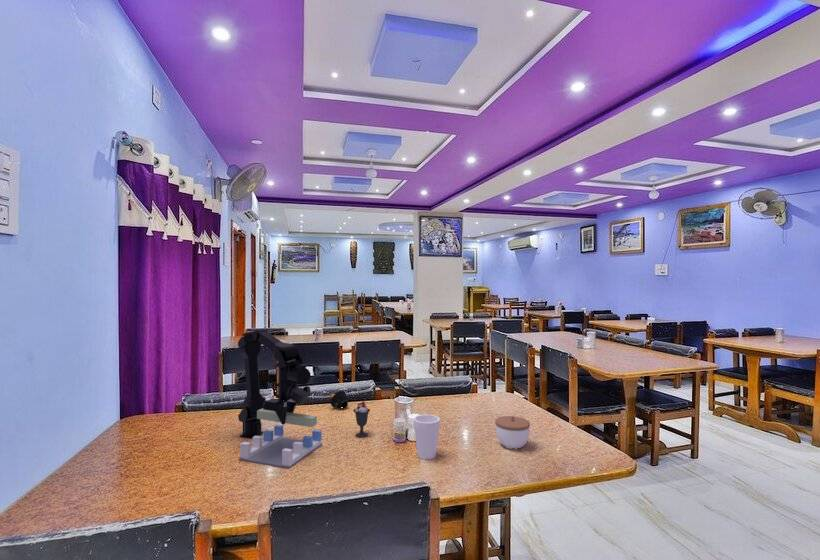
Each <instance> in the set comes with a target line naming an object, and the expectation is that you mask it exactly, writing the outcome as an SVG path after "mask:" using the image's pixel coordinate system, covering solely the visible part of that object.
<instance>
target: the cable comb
mask: <svg viewBox="0 0 820 560" xmlns="http://www.w3.org/2000/svg"><path fill="white" fill-rule="evenodd" d="M322 432H323V431H322V430H320V429H313V430H312V431H311V433H312V434H311V435H307V434H306V435H303V436H302V439H296V438H291V437H290V438H289V437H284V425H283V424H275V425H274V426H273V430H271V429H270V430H269V429H266V430H264V431H263V436H260V435H258V436H254V437H253V438H252V442H247V441H243V442H241V443H240V446H239V448H240V455H239V456H240V457H239V458H238V461H242V462H246V463H247V462H248V463H254V464H258V465H259V464H260V465H265V466H271V467H277V468H282V469H287V470H288V469H291V468H292V467H293V466H295V465H296V464H297V463H299V462H300V461H302V460H303V459H305V458H306V457H307V456H308V455H310V454H312V453H313V452H314V451H316V450H317V449H318V448H320V447H321V446H322V445H323V442H322V440H323V439H322V437H323V435H322Z"/></svg>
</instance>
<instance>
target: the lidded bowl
mask: <svg viewBox="0 0 820 560" xmlns="http://www.w3.org/2000/svg"><path fill="white" fill-rule="evenodd" d="M494 423H495V433H496V437H497V439H498V441H499V442H500V443H501V444H502V446H503V447H504V446H505V447H508V448H521V447H522V448H523V447H524V446H525V444H526V443H527V442H528V440H529V436H530V426H531V423H530V421H529V420H527V419H526V418H523V417H519V416H515V415H504V416H499V417H497V418H496V419H495V422H494ZM505 447H504V448H505ZM508 448H507V449H508ZM522 448H521V449H522Z"/></svg>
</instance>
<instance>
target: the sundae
mask: <svg viewBox="0 0 820 560" xmlns="http://www.w3.org/2000/svg"><path fill="white" fill-rule="evenodd" d="M365 400H366V398H364V399H363V400H362V402H358V403H357V405H356V408H354V409H353V413H354V414H355V420H356V425H358V427H359V428H360V430H359V432H357V433H356V434H355V437H356V438H366V437H368V435H369V434H368V433H367V432H364V427H365V426H366V425H367V423H368V418H369V413H370V412H371V409H369V408H368V406H367V404H366V403H365Z"/></svg>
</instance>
